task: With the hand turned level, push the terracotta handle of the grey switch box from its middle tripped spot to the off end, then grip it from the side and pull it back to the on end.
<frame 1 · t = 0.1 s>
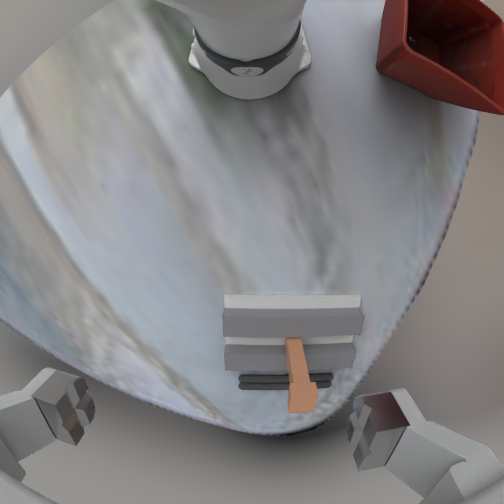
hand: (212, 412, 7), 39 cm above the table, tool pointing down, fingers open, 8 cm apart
twin grey rods: (286, 376, 55), on the table
plant pot: (410, 56, 35), on the table
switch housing: (291, 333, 51), on the table
breaker handle: (296, 366, 42), point 9 cm above the table, slide at 0.0 cm
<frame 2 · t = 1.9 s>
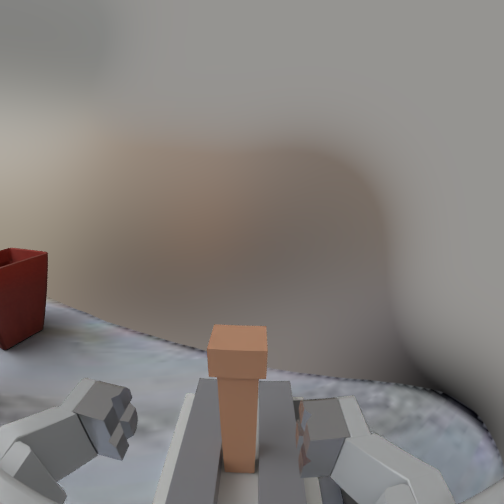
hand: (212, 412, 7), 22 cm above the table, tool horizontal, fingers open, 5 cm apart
plant pot: (13, 332, 44), on the table
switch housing: (240, 470, 24), on the table
breaker handle: (239, 415, 22), point 9 cm above the table, slide at 0.0 cm
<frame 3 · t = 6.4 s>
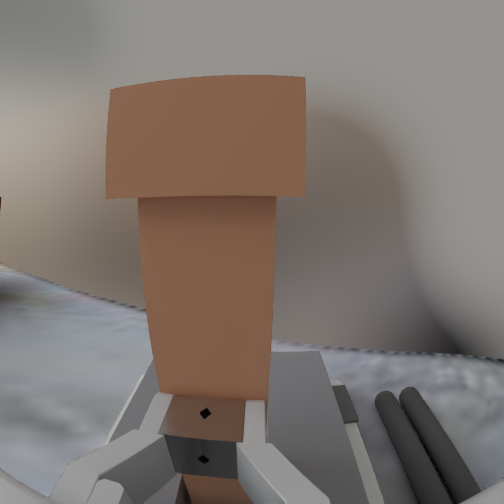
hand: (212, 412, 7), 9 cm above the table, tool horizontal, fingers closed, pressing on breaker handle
twin grey rods: (423, 496, 9), on the table
breaker handle: (218, 385, 8), point 10 cm above the table, slide at 1.3 cm, touching gripper
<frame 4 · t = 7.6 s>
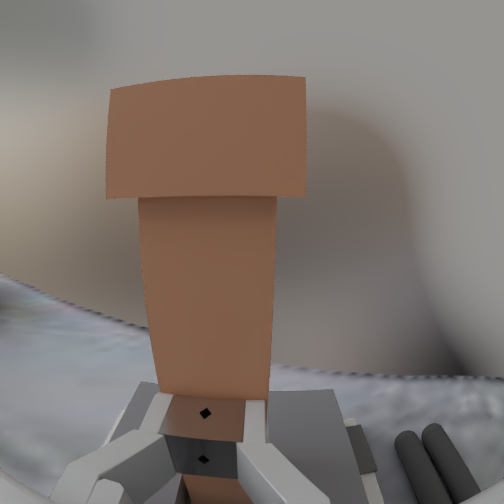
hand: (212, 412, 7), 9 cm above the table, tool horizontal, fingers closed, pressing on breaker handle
breaker handle: (218, 385, 8), point 9 cm above the table, slide at 5.8 cm, touching gripper
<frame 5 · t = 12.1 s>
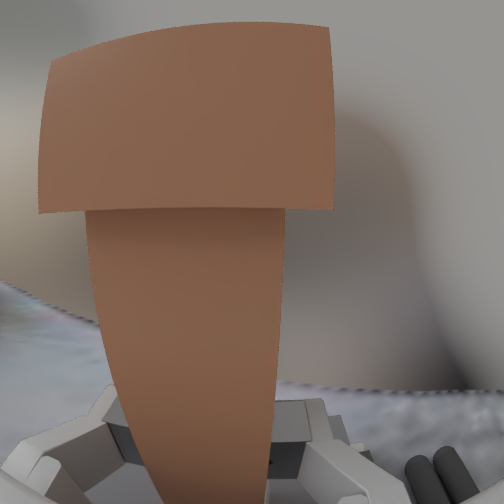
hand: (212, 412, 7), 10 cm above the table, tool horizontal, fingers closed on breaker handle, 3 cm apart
breaker handle: (208, 435, 6), point 9 cm above the table, slide at 6.0 cm, touching gripper
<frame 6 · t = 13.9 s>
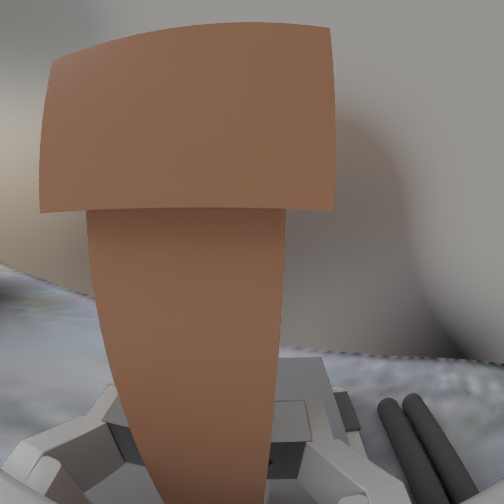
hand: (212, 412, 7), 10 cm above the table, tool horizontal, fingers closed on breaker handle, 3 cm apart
breaker handle: (208, 434, 6), point 10 cm above the table, slide at -0.1 cm, touching gripper
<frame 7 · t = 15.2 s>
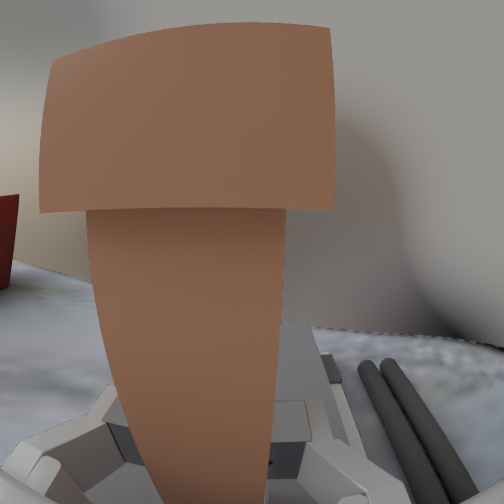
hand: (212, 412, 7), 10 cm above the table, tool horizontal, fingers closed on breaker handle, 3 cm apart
twin grey rods: (399, 447, 14), on the table
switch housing: (232, 463, 14), on the table
breaker handle: (208, 434, 6), point 10 cm above the table, slide at -5.5 cm, touching gripper
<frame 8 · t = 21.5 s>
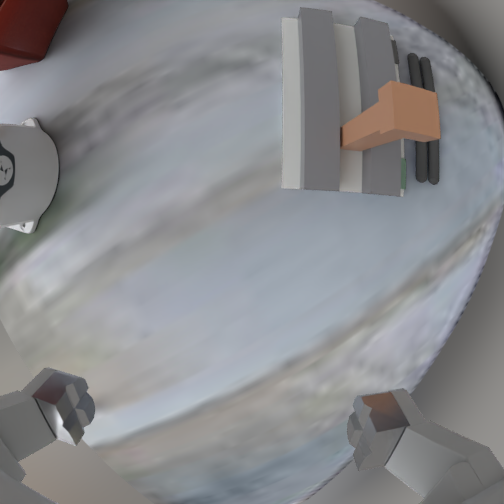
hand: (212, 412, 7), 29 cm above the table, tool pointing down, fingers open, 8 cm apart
twin grey rods: (416, 114, 31), on the table
plant pot: (35, 36, 28), on the table
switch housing: (344, 100, 31), on the table
breaker handle: (374, 128, 23), point 10 cm above the table, slide at -5.7 cm
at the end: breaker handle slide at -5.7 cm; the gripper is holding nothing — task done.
